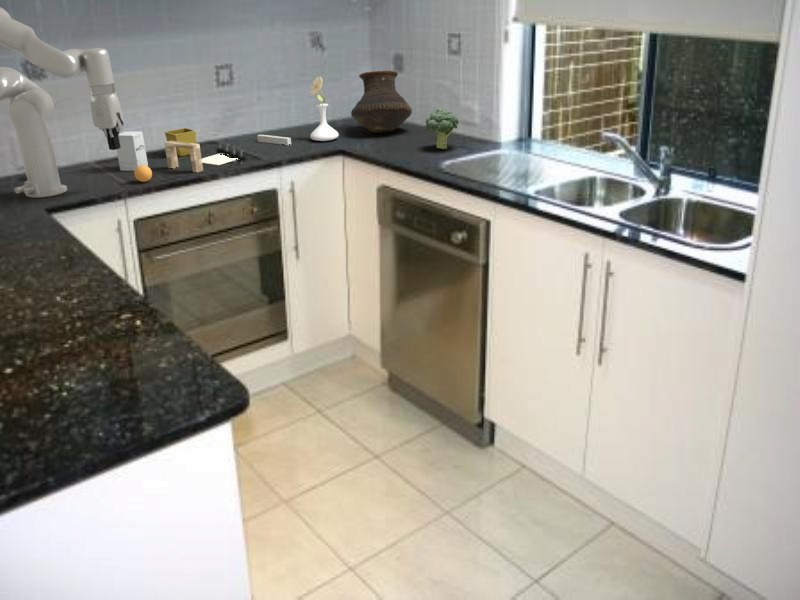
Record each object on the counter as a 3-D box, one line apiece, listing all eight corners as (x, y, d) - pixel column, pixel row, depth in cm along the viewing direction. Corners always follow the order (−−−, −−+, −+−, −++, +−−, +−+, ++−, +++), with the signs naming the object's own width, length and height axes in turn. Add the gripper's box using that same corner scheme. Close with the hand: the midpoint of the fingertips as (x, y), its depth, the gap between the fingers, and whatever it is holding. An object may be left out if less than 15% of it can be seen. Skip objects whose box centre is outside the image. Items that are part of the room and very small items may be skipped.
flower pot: (178, 158, 292) (174, 134, 288) (167, 155, 298) (164, 131, 294) (199, 154, 297) (196, 130, 293) (188, 151, 303) (185, 127, 299)
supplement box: (138, 171, 276) (132, 135, 271) (119, 170, 277) (113, 135, 272) (149, 166, 283) (142, 131, 278) (130, 165, 284) (124, 131, 279)
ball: (143, 184, 258) (140, 168, 256) (132, 182, 261) (129, 166, 259) (156, 180, 262) (153, 164, 260) (145, 178, 265) (142, 162, 263)
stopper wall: (287, 145, 305) (287, 138, 304) (257, 141, 313) (257, 135, 312) (291, 144, 306) (290, 137, 305) (261, 140, 315) (260, 134, 314)
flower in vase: (310, 137, 316) (304, 74, 306) (338, 136, 317) (333, 72, 307) (310, 144, 304) (304, 78, 294) (339, 142, 305) (335, 76, 295)
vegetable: (451, 143, 295) (450, 103, 289) (464, 150, 284) (464, 108, 278) (421, 147, 292) (420, 106, 286) (433, 154, 281) (432, 112, 275)
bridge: (196, 172, 270) (192, 145, 267) (168, 168, 278) (164, 142, 274) (203, 170, 272) (199, 144, 269) (174, 166, 280) (170, 140, 276)
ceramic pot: (352, 127, 302) (348, 68, 301) (352, 137, 326) (348, 83, 325) (415, 123, 303) (411, 65, 302) (410, 134, 328) (407, 79, 326)
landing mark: (218, 165, 279) (218, 164, 279) (193, 161, 286) (193, 161, 286) (244, 157, 289) (244, 156, 289) (219, 154, 296) (219, 153, 295)
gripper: (77, 91, 243) (90, 149, 251) (107, 93, 235) (120, 153, 243) (98, 87, 249) (110, 144, 256) (128, 89, 241) (139, 148, 248)
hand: (115, 148), depth 249 cm, fingers closed
